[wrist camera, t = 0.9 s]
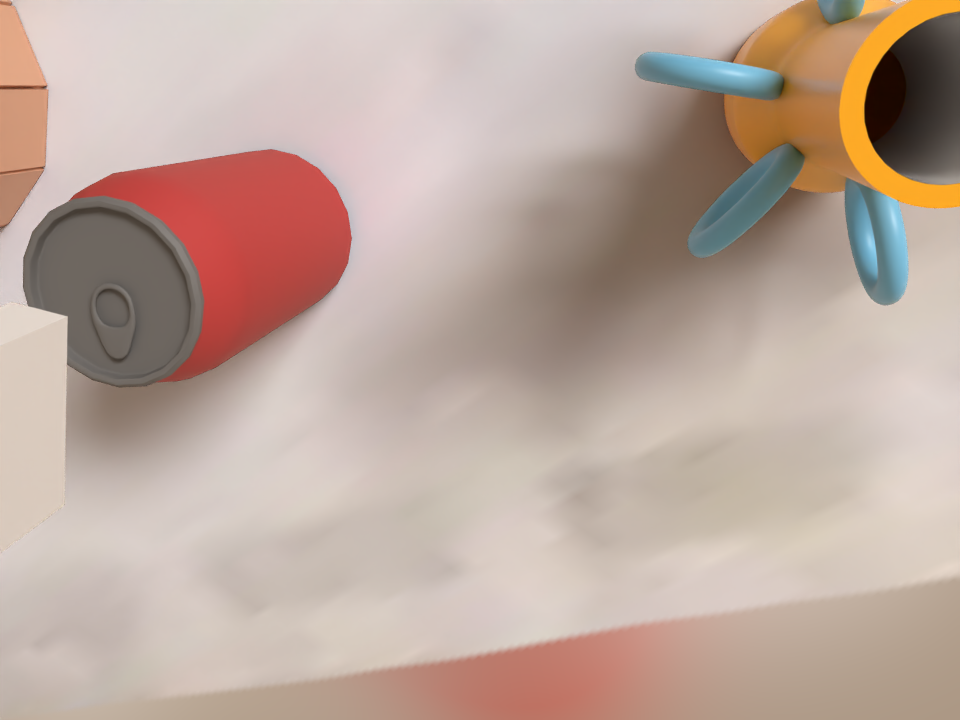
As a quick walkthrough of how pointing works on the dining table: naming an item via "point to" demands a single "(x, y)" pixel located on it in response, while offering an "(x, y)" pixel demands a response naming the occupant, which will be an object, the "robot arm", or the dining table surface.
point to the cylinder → (838, 121)
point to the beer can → (186, 262)
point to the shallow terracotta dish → (19, 114)
